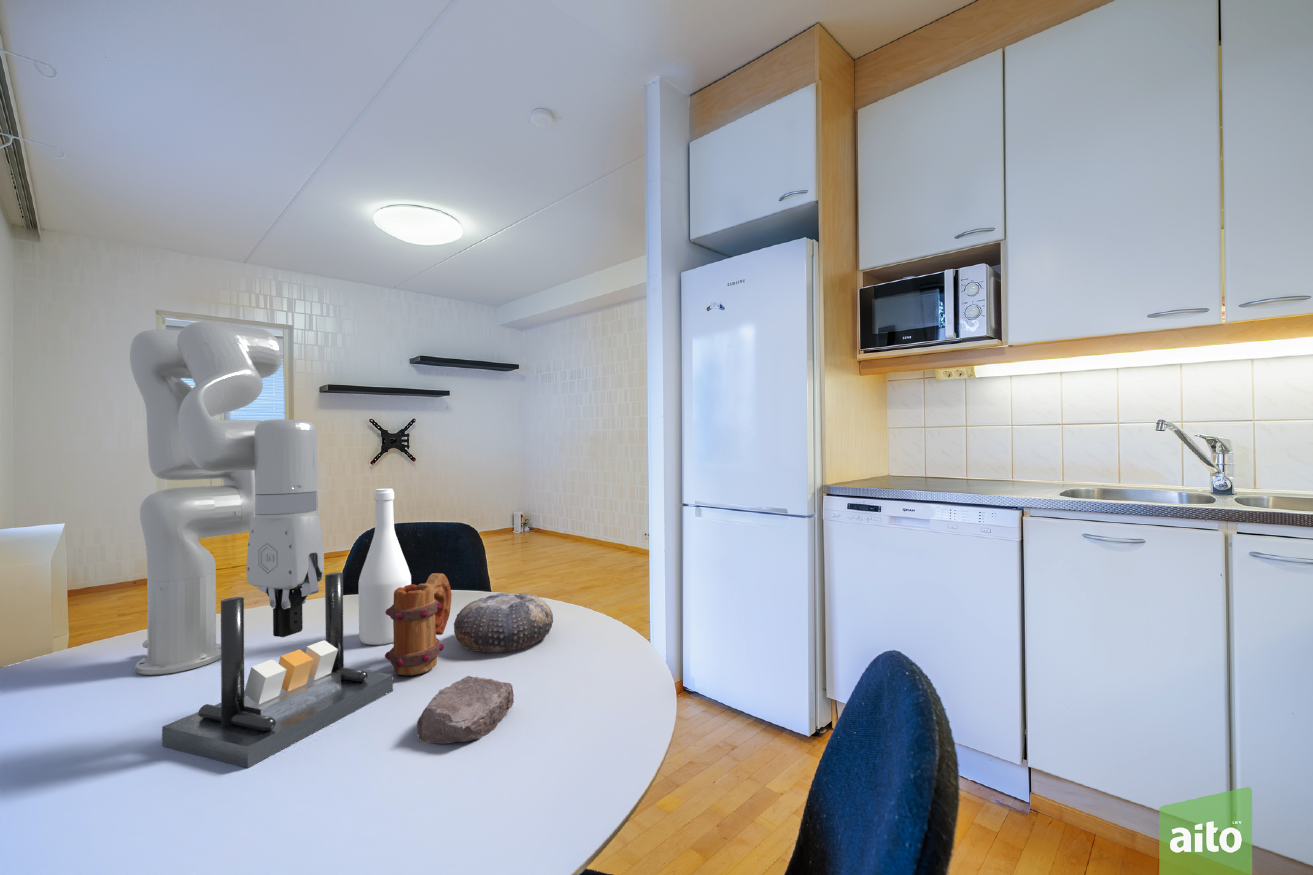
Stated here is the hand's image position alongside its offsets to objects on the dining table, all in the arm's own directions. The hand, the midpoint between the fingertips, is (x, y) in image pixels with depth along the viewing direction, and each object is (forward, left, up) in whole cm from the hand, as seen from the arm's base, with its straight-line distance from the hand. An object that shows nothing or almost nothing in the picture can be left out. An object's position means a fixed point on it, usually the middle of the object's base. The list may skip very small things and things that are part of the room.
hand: (288, 633), depth 79 cm
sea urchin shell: (+11, +36, -12) cm, 40 cm away
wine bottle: (-13, +30, -12) cm, 35 cm away
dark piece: (0, 0, -12) cm, 12 cm away
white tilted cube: (0, -4, -8) cm, 9 cm away
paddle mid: (0, 0, -8) cm, 8 cm away
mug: (+5, +21, -12) cm, 25 cm away
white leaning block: (0, +4, -8) cm, 9 cm away
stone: (+26, +6, -12) cm, 30 cm away
